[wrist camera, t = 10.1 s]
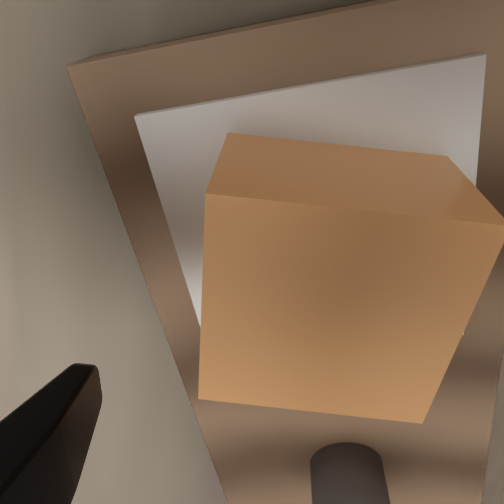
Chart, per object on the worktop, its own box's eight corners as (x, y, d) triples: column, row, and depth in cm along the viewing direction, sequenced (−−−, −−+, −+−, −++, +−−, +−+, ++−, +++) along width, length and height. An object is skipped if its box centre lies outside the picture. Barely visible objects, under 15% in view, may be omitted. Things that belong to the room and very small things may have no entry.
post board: (466, 501, 23) (534, 696, 17) (243, 509, 25) (229, 689, 19) (527, -31, 11) (842, -39, 5) (87, 57, 13) (-102, 135, 7)
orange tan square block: (447, 156, 12) (511, 226, 9) (391, 324, 15) (422, 423, 12) (227, 132, 12) (204, 193, 9) (217, 305, 15) (198, 399, 12)
